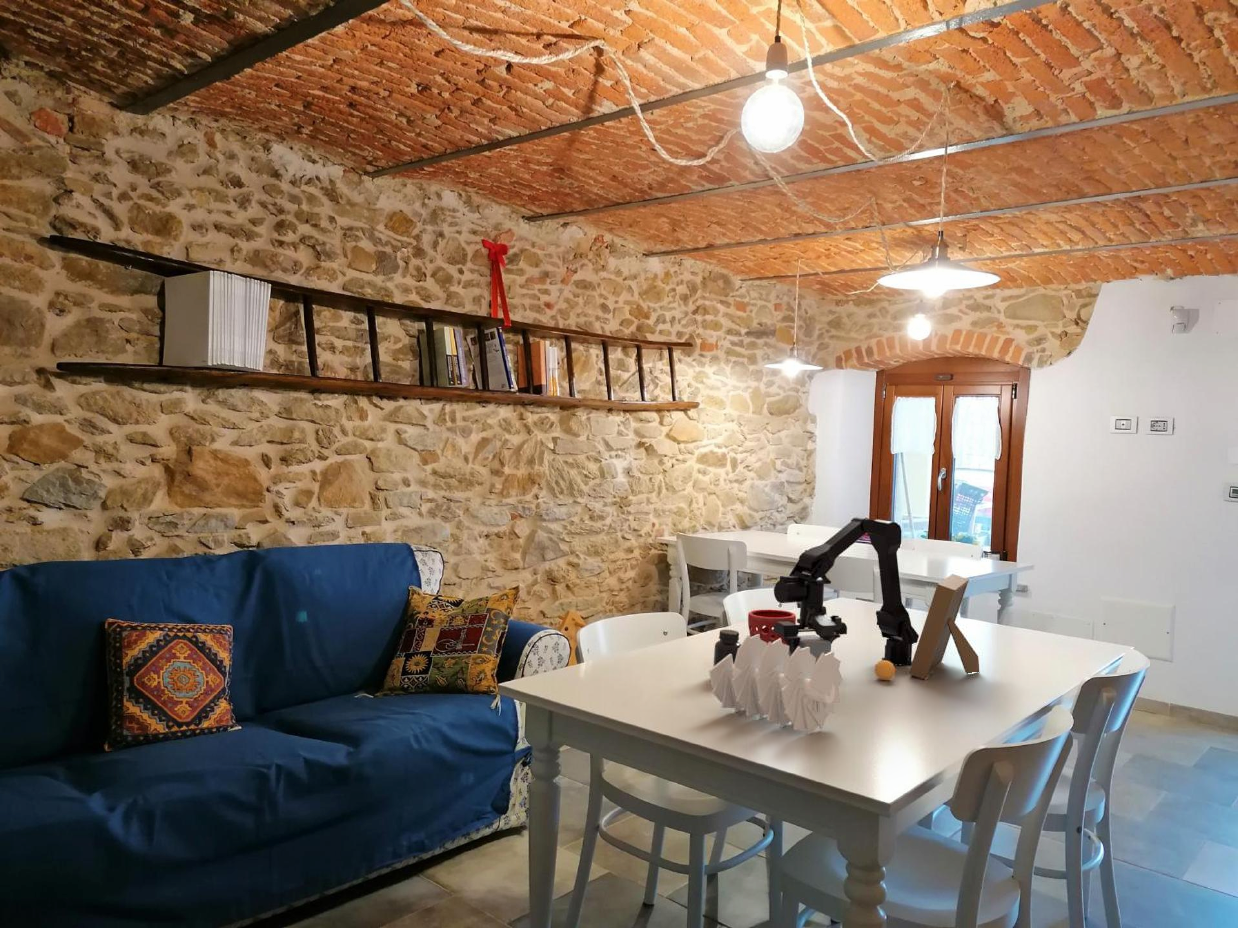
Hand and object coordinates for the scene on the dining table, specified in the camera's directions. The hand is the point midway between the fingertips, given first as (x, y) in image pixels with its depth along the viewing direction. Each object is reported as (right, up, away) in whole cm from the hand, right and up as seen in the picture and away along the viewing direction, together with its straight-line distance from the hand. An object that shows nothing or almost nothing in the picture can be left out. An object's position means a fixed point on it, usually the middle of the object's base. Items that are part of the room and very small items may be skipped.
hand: (809, 660), depth 220 cm
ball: (+18, -1, -4) cm, 19 cm away
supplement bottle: (-22, -3, -9) cm, 24 cm away
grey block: (0, -3, 0) cm, 3 cm away
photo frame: (+37, -5, +5) cm, 38 cm away
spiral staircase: (-16, -4, -39) cm, 43 cm away
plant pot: (-7, -3, +17) cm, 18 cm away
